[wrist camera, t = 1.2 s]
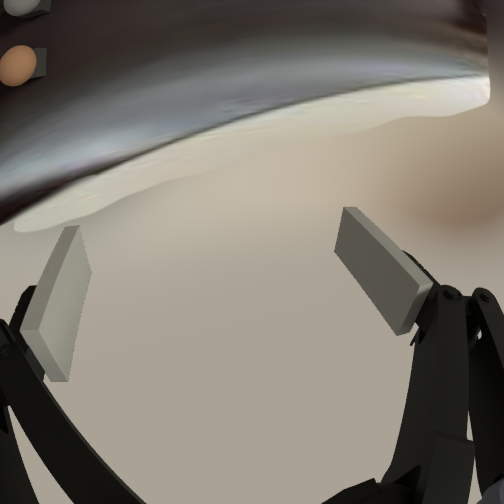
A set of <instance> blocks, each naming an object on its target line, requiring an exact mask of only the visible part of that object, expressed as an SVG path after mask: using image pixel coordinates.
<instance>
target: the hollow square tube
mask: <svg viewBox="0 0 504 504" xmlns="http://www.w3.org/2000/svg"><path fill="white" fill-rule="evenodd" d="M32 50H33V51H34V53H35V55H36V60H37V62H36V68H35V70H34V72H33V74H32V76H31V77H30V78H29V79H32V78H36V77H41V76H46V56H47V48H34V49H32Z"/></svg>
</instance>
